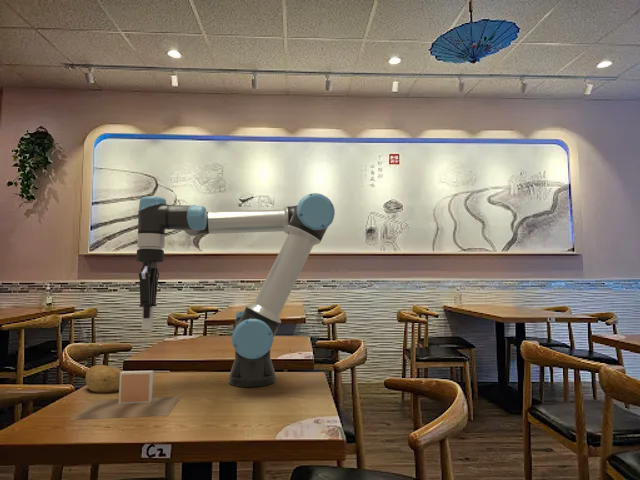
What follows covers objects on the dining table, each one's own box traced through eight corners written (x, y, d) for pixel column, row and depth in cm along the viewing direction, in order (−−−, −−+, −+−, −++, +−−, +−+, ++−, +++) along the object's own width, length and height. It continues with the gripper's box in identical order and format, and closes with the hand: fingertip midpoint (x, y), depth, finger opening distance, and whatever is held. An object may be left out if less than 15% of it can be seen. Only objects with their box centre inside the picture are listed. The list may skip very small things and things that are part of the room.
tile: (151, 401, 109) (153, 370, 110) (150, 402, 107) (151, 371, 108) (120, 402, 108) (121, 371, 109) (118, 404, 106) (119, 372, 107)
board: (181, 400, 113) (181, 396, 113) (167, 420, 97) (167, 415, 97) (97, 404, 110) (97, 399, 110) (69, 425, 94) (69, 419, 94)
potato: (102, 401, 113) (103, 372, 114) (76, 394, 120) (77, 366, 121) (134, 393, 121) (135, 365, 122) (108, 386, 128) (109, 361, 129)
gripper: (143, 250, 127) (140, 327, 124) (130, 247, 114) (126, 332, 111) (168, 250, 128) (165, 326, 125) (158, 247, 115) (154, 332, 112)
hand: (147, 329), depth 118 cm, fingers closed
